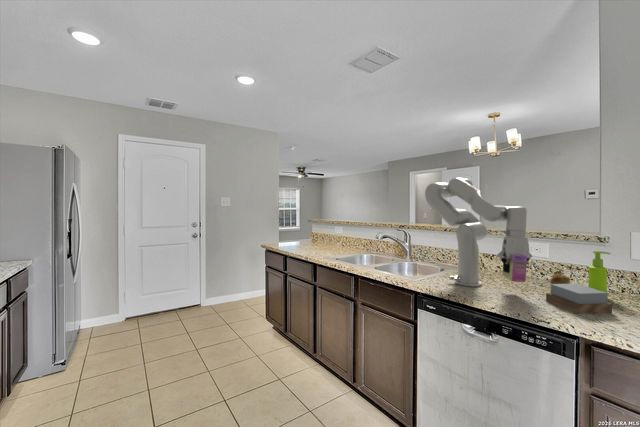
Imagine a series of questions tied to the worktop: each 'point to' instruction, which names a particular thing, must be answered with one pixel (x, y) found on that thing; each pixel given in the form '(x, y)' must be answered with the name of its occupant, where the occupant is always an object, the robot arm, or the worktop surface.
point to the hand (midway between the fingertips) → (513, 271)
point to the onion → (559, 278)
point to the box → (517, 268)
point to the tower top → (579, 293)
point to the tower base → (579, 305)
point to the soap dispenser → (598, 273)
